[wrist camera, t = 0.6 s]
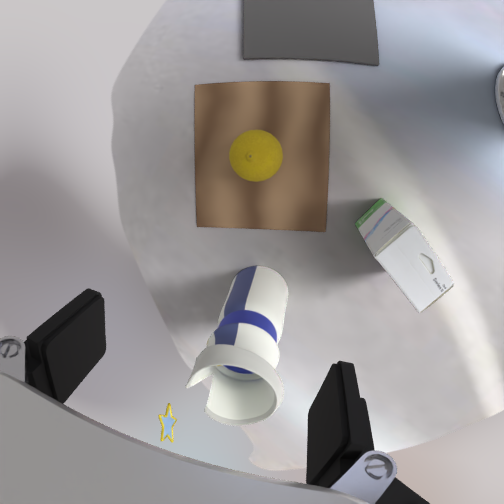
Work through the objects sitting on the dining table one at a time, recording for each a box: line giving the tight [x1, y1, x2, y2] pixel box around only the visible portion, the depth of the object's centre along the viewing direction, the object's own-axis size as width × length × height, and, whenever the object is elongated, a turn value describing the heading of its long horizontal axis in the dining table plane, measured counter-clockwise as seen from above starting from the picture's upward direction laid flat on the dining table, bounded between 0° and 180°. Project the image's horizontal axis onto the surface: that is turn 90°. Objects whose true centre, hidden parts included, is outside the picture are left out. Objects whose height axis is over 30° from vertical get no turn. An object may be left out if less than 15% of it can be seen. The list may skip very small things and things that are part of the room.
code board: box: [195, 81, 330, 232], centre depth 35 cm, size 16×18×1 cm
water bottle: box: [159, 266, 288, 442], centre depth 30 cm, size 8×9×25 cm
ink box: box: [355, 198, 454, 314], centre depth 31 cm, size 9×5×12 cm, turn 46°
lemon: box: [229, 130, 283, 182], centre depth 32 cm, size 6×6×8 cm
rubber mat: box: [243, 0, 379, 66], centre depth 28 cm, size 16×16×1 cm
